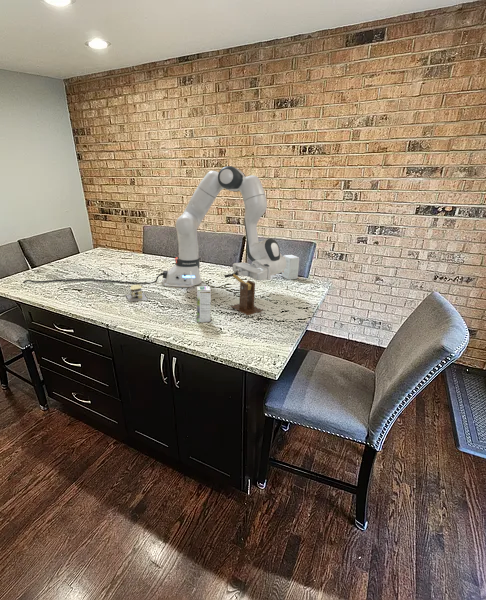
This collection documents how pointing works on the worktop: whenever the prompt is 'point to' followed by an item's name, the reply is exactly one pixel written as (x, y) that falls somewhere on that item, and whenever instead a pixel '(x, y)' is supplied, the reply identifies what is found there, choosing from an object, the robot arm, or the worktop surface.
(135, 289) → the stacked layers on plate
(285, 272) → the small box
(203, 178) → the robot arm
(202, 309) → the syrup box
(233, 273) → the lever
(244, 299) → the bracket
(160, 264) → the worktop surface
